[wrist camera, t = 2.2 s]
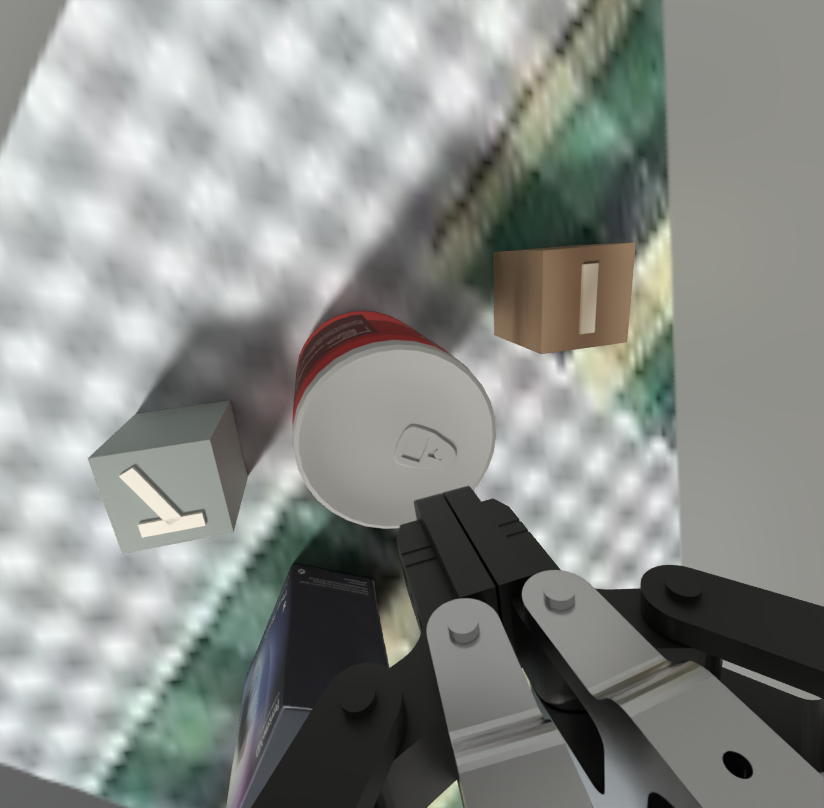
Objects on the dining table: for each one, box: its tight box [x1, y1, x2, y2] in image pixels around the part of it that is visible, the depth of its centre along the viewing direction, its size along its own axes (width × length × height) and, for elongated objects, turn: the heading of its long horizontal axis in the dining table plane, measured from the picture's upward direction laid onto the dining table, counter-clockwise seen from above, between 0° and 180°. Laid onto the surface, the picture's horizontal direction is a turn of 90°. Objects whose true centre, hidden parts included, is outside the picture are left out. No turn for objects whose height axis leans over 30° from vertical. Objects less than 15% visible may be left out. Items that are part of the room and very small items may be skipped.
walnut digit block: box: [493, 242, 636, 354], centre depth 25 cm, size 5×5×6 cm
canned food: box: [293, 311, 496, 529], centre depth 22 cm, size 8×8×11 cm
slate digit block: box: [88, 400, 248, 554], centre depth 23 cm, size 5×5×6 cm
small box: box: [226, 564, 389, 808], centre depth 27 cm, size 11×6×10 cm, turn 156°
